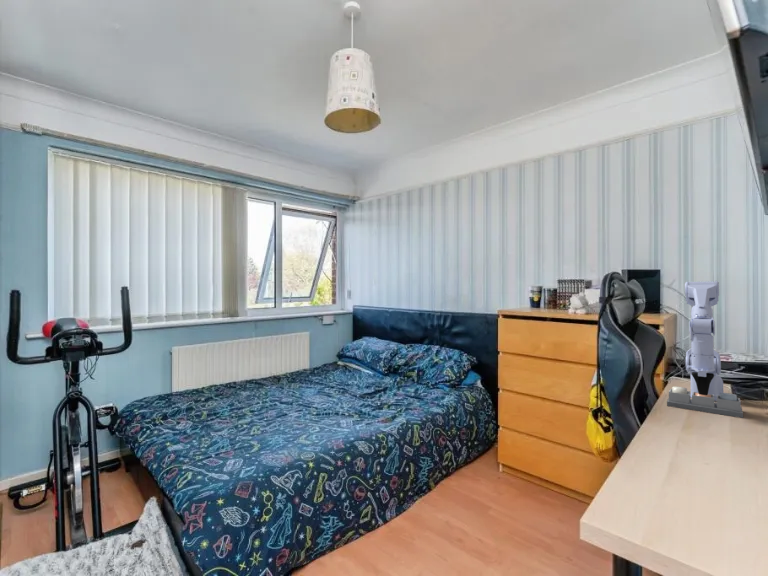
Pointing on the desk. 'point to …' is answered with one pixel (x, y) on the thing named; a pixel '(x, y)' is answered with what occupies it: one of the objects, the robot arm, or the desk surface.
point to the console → (705, 404)
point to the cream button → (679, 390)
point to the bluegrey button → (728, 396)
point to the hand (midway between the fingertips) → (703, 394)
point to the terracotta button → (703, 395)
